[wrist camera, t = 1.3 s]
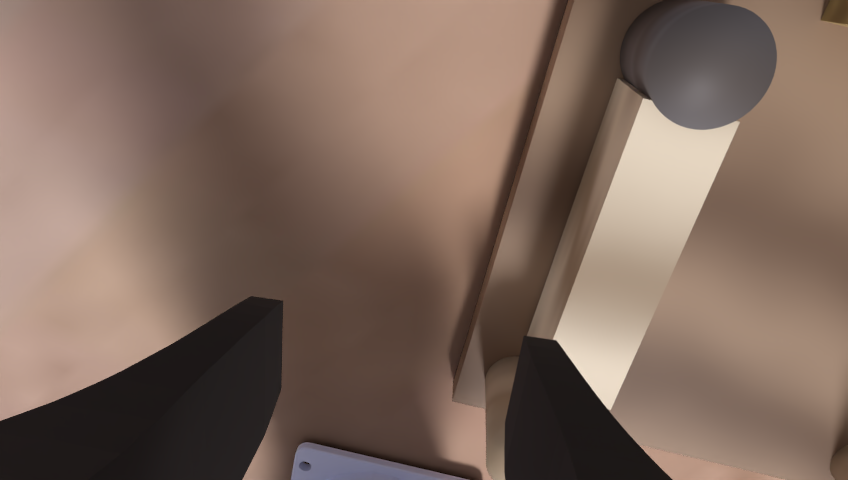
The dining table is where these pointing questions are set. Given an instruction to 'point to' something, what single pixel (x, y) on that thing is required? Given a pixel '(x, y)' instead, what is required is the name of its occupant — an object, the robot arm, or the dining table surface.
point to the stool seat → (700, 258)
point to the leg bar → (650, 178)
